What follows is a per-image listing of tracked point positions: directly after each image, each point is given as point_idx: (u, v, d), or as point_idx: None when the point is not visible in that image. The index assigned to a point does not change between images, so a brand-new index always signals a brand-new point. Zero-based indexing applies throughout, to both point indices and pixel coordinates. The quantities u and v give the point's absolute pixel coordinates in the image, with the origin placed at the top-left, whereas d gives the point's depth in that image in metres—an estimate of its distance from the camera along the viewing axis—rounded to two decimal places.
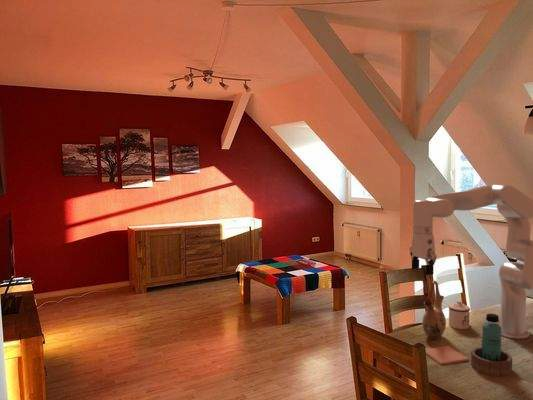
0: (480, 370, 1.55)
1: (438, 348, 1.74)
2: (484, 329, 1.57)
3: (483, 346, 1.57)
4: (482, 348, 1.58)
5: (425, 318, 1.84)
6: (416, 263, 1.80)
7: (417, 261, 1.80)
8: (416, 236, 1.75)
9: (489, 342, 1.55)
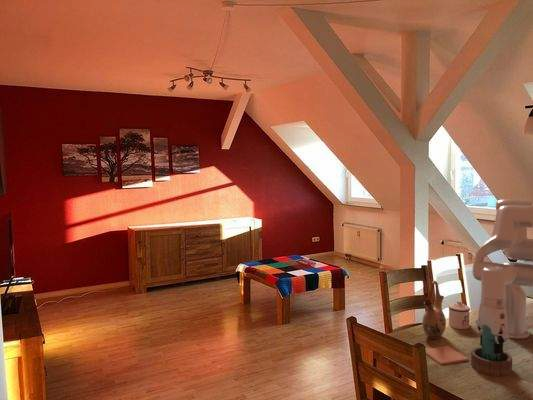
0: (480, 370, 1.55)
1: (438, 348, 1.74)
2: (484, 329, 1.57)
3: (483, 346, 1.57)
4: (482, 348, 1.58)
5: (425, 318, 1.84)
6: None
7: None
8: (484, 308, 1.57)
9: (489, 342, 1.55)
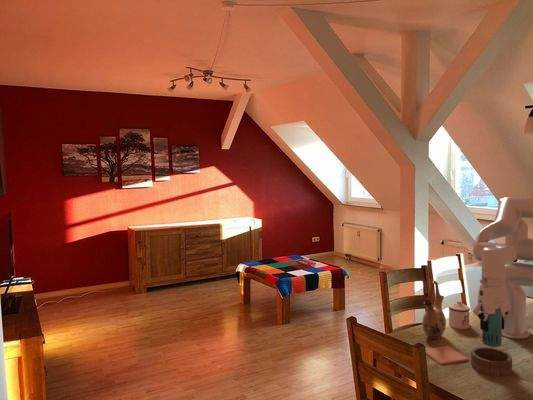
0: (480, 370, 1.55)
1: (438, 348, 1.74)
2: None
3: None
4: None
5: (425, 318, 1.84)
6: None
7: None
8: None
9: None
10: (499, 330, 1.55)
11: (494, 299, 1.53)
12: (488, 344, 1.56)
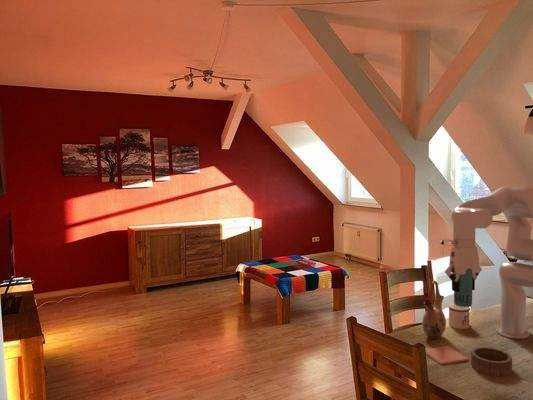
0: (480, 370, 1.55)
1: (438, 348, 1.74)
2: None
3: None
4: None
5: (425, 318, 1.84)
6: None
7: None
8: None
9: None
10: (470, 290, 1.59)
11: (465, 260, 1.58)
12: (459, 304, 1.61)
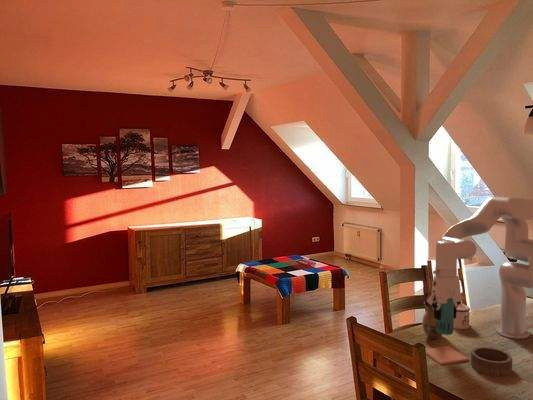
0: (480, 370, 1.55)
1: (438, 348, 1.74)
2: None
3: None
4: None
5: (425, 318, 1.84)
6: None
7: None
8: None
9: None
10: (451, 319, 1.64)
11: (446, 289, 1.63)
12: (441, 332, 1.66)
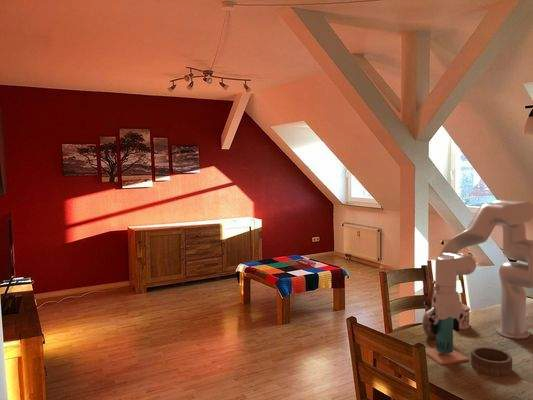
0: (480, 370, 1.55)
1: None
2: None
3: None
4: None
5: (425, 318, 1.84)
6: (454, 325, 1.69)
7: (455, 323, 1.68)
8: None
9: None
10: (450, 337, 1.65)
11: (446, 305, 1.64)
12: (440, 350, 1.66)
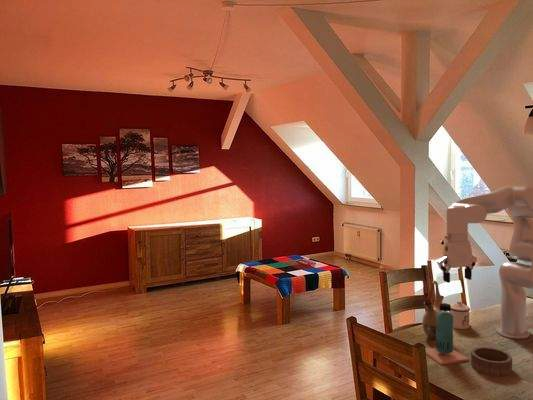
0: (480, 370, 1.55)
1: None
2: None
3: None
4: None
5: (425, 318, 1.84)
6: (467, 273, 1.70)
7: (468, 271, 1.70)
8: None
9: None
10: (450, 337, 1.65)
11: (458, 253, 1.66)
12: (440, 350, 1.66)
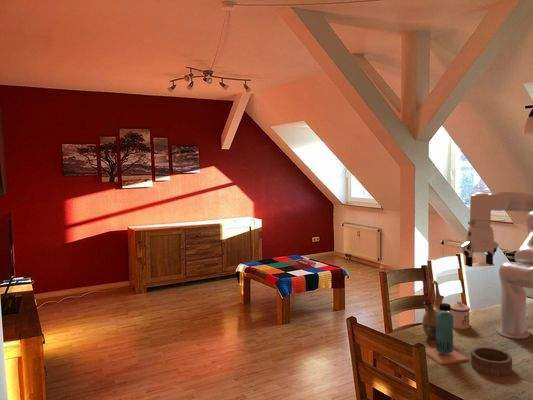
0: (480, 370, 1.55)
1: None
2: None
3: None
4: None
5: (425, 318, 1.84)
6: (488, 258, 1.77)
7: (489, 257, 1.77)
8: None
9: None
10: (450, 337, 1.65)
11: (481, 239, 1.72)
12: (440, 350, 1.66)
